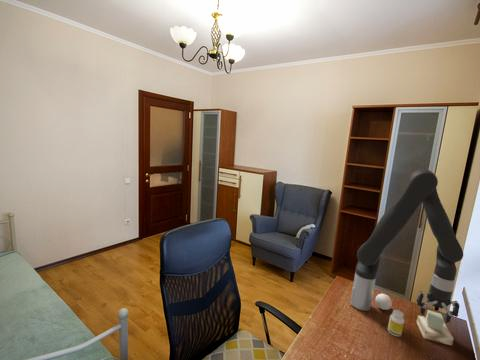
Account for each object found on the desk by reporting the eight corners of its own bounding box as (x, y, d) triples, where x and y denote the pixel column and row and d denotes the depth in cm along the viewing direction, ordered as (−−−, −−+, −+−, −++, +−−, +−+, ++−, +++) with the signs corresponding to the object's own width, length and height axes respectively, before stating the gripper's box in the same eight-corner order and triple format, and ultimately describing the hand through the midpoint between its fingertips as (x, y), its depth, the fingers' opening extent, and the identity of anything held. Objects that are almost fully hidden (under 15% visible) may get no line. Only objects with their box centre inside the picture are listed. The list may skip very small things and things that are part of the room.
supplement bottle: (403, 338, 106) (407, 318, 104) (390, 335, 107) (393, 316, 105) (398, 328, 112) (402, 309, 110) (385, 326, 113) (389, 307, 111)
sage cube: (427, 326, 109) (430, 316, 108) (425, 319, 113) (427, 309, 112) (441, 331, 107) (444, 321, 106) (438, 323, 111) (441, 313, 110)
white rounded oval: (373, 301, 129) (375, 288, 128) (389, 306, 126) (392, 293, 125) (374, 313, 121) (376, 300, 119) (392, 318, 117) (394, 305, 116)
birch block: (423, 338, 107) (425, 330, 106) (416, 322, 116) (417, 315, 116) (451, 346, 104) (453, 338, 103) (441, 329, 113) (443, 321, 112)
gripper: (423, 284, 106) (416, 317, 109) (466, 296, 100) (457, 330, 103) (420, 276, 113) (413, 307, 116) (459, 286, 107) (451, 318, 110)
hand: (434, 318), depth 109 cm, fingers open, 8 cm apart
